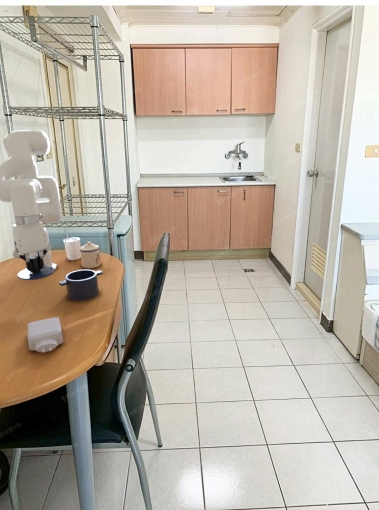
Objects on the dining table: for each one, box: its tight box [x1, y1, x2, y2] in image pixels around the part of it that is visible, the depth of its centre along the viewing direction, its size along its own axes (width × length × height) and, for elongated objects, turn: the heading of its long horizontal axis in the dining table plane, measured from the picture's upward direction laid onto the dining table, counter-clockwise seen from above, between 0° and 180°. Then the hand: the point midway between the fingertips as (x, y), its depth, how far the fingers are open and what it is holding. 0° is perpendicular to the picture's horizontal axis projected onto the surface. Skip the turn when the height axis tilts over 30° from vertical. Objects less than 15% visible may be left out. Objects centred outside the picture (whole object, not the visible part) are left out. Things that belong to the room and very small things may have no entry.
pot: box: [58, 269, 104, 302], centre depth 133 cm, size 11×17×8 cm
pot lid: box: [17, 256, 56, 281], centre depth 122 cm, size 12×12×7 cm
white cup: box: [63, 236, 82, 261], centre depth 175 cm, size 8×8×10 cm
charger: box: [26, 316, 64, 354], centre depth 101 cm, size 5×9×15 cm
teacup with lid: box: [80, 241, 102, 269], centre depth 166 cm, size 12×9×12 cm
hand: (35, 269), depth 123 cm, fingers closed on pot lid, 2 cm apart
